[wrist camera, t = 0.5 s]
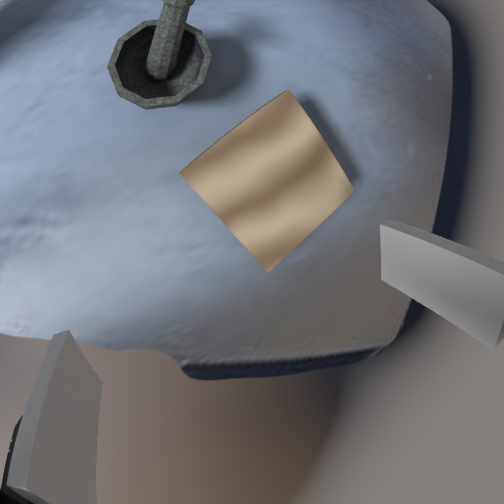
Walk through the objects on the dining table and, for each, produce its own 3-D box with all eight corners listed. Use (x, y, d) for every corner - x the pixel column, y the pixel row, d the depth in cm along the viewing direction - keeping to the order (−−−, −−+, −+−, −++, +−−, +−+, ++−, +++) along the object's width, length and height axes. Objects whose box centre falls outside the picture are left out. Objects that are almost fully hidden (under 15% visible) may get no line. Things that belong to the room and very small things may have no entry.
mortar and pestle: (187, 125, 30) (201, 105, 19) (109, 112, 26) (82, 87, 15) (212, 42, 27) (239, -6, 16) (138, 28, 24) (133, -25, 13)
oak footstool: (176, 171, 31) (180, 173, 25) (267, 99, 31) (288, 89, 26) (251, 255, 37) (268, 272, 31) (328, 185, 37) (355, 191, 32)
